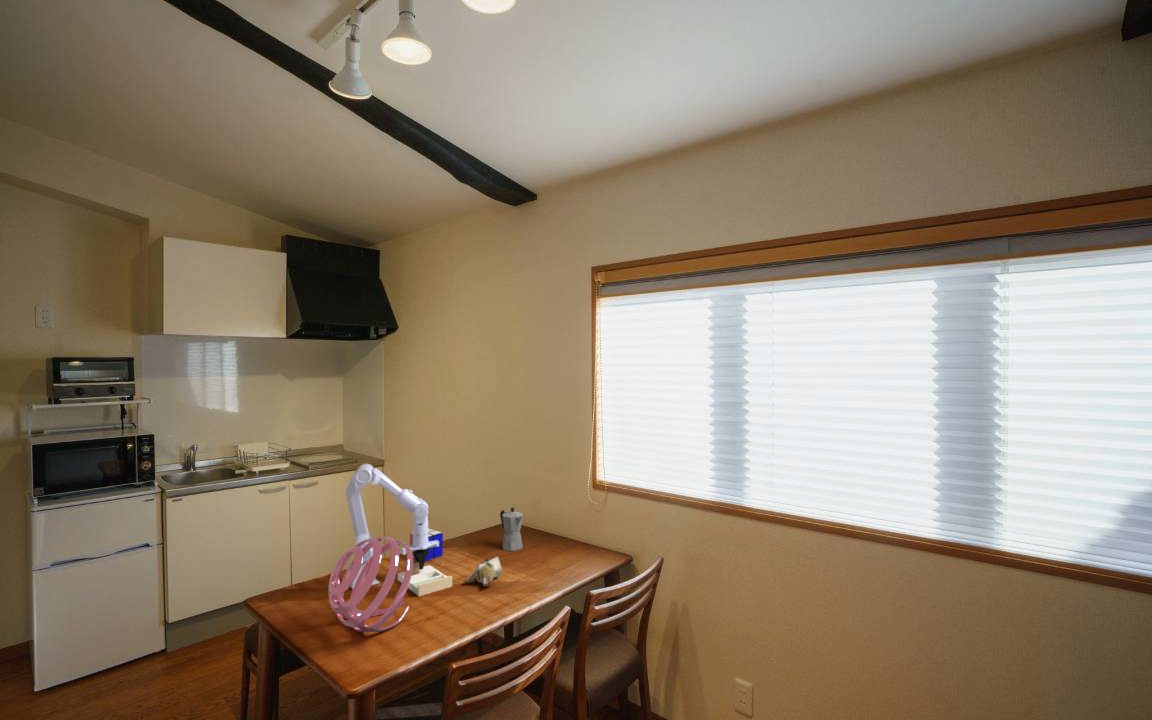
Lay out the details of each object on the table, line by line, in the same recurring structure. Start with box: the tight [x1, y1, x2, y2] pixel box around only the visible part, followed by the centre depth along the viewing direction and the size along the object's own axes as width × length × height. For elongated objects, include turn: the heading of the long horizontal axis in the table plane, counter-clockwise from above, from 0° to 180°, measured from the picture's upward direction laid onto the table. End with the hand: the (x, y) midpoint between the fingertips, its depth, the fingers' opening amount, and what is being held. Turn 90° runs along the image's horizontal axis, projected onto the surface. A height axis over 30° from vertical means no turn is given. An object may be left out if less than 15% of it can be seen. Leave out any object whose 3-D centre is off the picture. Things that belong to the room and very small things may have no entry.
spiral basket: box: [327, 536, 414, 633], centre depth 169 cm, size 28×28×27 cm
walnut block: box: [404, 559, 419, 575], centre depth 203 cm, size 4×4×4 cm
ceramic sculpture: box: [463, 556, 503, 587], centre depth 202 cm, size 11×9×15 cm
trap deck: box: [397, 564, 453, 597], centre depth 200 cm, size 13×19×4 cm
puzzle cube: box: [409, 528, 444, 562], centre depth 229 cm, size 10×10×10 cm
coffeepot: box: [499, 507, 524, 552], centre depth 240 cm, size 15×9×18 cm, turn 44°
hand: (420, 568), depth 205 cm, fingers closed
